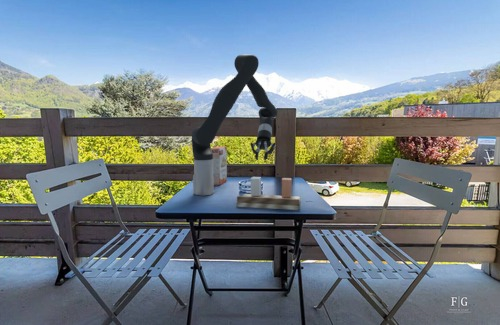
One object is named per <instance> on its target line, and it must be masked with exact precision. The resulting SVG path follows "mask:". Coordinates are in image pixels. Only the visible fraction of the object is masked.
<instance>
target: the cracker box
mask: <svg viewBox="0 0 500 325" xmlns="http://www.w3.org/2000/svg"><path fill="white" fill-rule="evenodd" d="M227 151H228V148H227V146H214V147H211V152H212V154H213V181H214V186H221V185H222V184H224V183H225V182H227V181H228V178H227V176H228V175H227V174H228V169H227V168H228V167H227V165H228V164H227V162H228V161H227V160H228V159H227V156H228V155H227V154H228V153H227Z"/></svg>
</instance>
